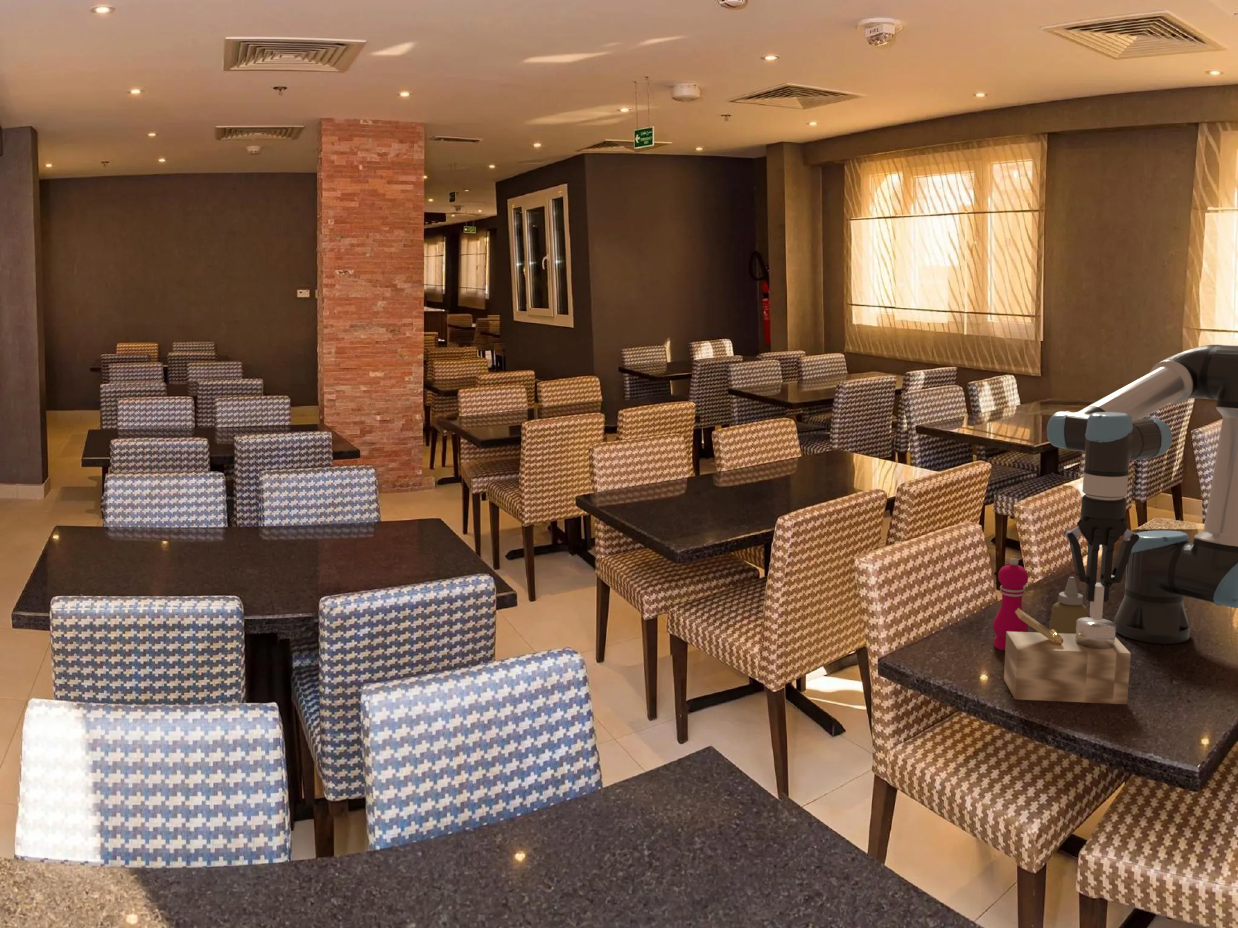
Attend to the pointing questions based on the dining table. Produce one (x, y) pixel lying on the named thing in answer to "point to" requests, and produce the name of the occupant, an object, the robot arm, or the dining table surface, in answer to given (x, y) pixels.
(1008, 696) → the dining table surface
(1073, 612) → the squeeze bottle
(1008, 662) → the maple block
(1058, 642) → the brass latch
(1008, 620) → the pepper mill
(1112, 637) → the silver capsule
